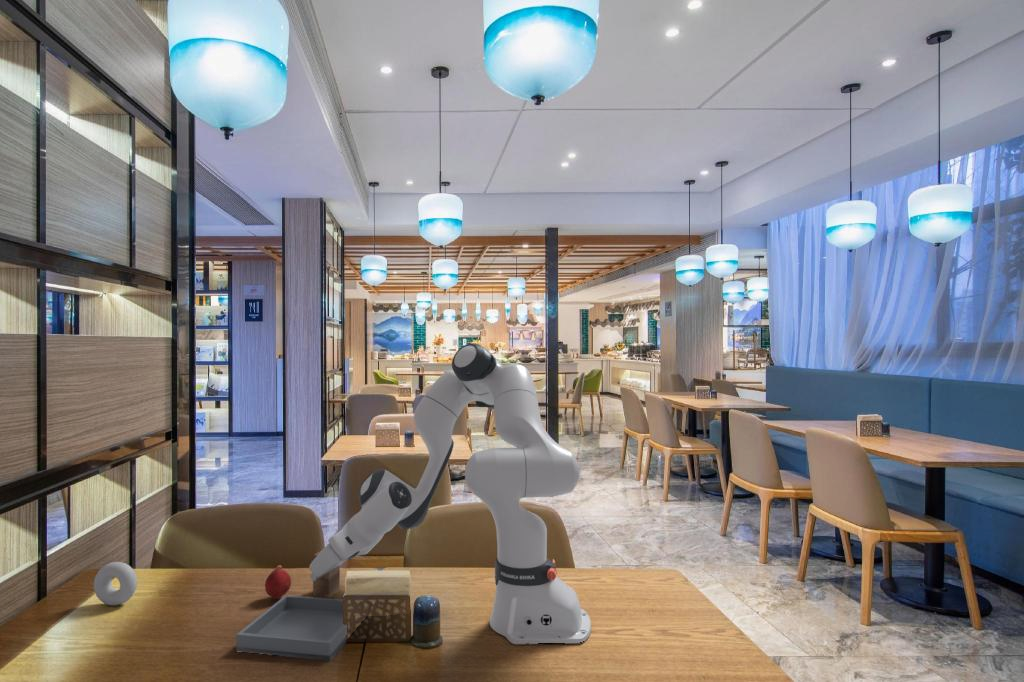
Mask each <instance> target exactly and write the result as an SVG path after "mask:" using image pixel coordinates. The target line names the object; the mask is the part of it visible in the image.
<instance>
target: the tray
mask: <svg viewBox="0 0 1024 682" xmlns="http://www.w3.org/2000/svg"><path fill="white" fill-rule="evenodd" d="M343 600H344V598H343V599H340V598H331V597H330V598H324V597H318V596H304V595H303V596H302V595H290V594H284V595H283V596H282V597H281V598H280V599H278V601H277V602H275V603H274V604H273V605H272V606H271V607H269V608H267V610H265V611H264V612H263V613H261V614H260V615H259V616H258V617H256V618H255V619H254V620H253V621H252V622H250V623H249V624H247V626H245V627H244V628H243V629H241V630H240V631H238V632H237V633H236V634H235V635H236V638H235V641H236V642H235V643H236V645H235V646H236V647H235V648H236V650H235V652H236V651H243V652H252V653H263V654H270V655H269V656H272V655H279V656H278V657H283V656H284V658H296V659H305V660H315V661H317V660H318V661H326V662H331V661H332V659H333V658H334V657H335V656H336V655H337V653H339V651H340V650H341V649H342V648H343V646H344V645H345V644H346V643H347V642H346V635H347V625H346V624H345V625H344V624H343Z"/></svg>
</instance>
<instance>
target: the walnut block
mask: <svg viewBox="0 0 1024 682" xmlns="http://www.w3.org/2000/svg"><path fill="white" fill-rule="evenodd" d="M322 550H323V549H322ZM322 550H320V551H317V553H315V554H313V556H312V557H313V560H314V559H315V558H316V557H317V555H318V554H319V553H320V552H321V551H322ZM313 560H312V561H313ZM340 566H341V564H340V565H339V566H337V567H336V568H334V569H332V570H331V571H329V572H328V573H326V574H325V575H323V576H322V577H320V578H318V579H317V580H315V581H312V597H317V598H330V599H331V597H332V596H334V595H335V594H337V593H338V592H339V591H340V584H341V583H340V581H341V579H340V577H341V575H340V573H341V572H340V571H341V569H340V568H341V567H340Z"/></svg>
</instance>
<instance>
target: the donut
mask: <svg viewBox="0 0 1024 682" xmlns="http://www.w3.org/2000/svg"><path fill="white" fill-rule="evenodd" d="M113 578H116V579H117V580H118V582H119V588H118V589H116V588H114V587H113V585H112V579H113ZM137 586H138V576H137V574H136V572H135V570H134V569H133V567H131V565H129V564H127V563H125V562H121V561H113V562H109V563H107V564H105V565H104V566H102V567H101V568H100V569H99V570H98V571H97V573H96V575H95V578H94V581H93V591H94V593H95V596H96V598H97V599H98V600H99V601H100V602H101V603H103V604H105V605H108V606H112V607H113V606H120V605H122V604H125V603H127V602H128V601H129V600H130V599H132V597H133V595H134V594H135V592H136V590H137V588H138V587H137Z"/></svg>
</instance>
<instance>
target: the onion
mask: <svg viewBox="0 0 1024 682" xmlns="http://www.w3.org/2000/svg"><path fill="white" fill-rule="evenodd" d="M291 578H292V577H291V575H290V574H289V573H288V572H287V571H286V570H285V569H283V566H282V565H277V567H276V568H275V569H273V571H271V573H269V575H268V576H267V577H266V579H265V583H264V587H265V592H266V594H267V595H268V596H269V597H271V598H273V599H276V600H280V599H282V598H283V597H284V596H285V595H286V594H287V593H288V591H289V590H290V588H291V586H292V579H291Z"/></svg>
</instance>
